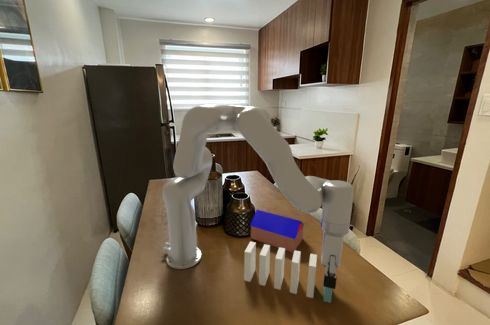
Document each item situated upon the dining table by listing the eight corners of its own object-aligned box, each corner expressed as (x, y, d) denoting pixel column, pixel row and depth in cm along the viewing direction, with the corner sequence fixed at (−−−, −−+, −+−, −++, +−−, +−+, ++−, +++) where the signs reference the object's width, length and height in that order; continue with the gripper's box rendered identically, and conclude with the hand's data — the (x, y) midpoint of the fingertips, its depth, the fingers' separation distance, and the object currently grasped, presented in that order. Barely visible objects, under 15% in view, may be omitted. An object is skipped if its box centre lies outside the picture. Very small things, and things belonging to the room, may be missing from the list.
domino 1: (244, 280, 78) (244, 251, 75) (250, 268, 83) (250, 241, 80) (250, 282, 77) (250, 252, 74) (255, 270, 82) (255, 242, 80)
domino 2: (258, 284, 76) (259, 254, 73) (263, 272, 82) (264, 244, 79) (264, 285, 75) (265, 256, 73) (269, 273, 81) (270, 245, 78)
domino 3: (274, 288, 74) (275, 258, 72) (277, 275, 80) (279, 247, 77) (280, 289, 74) (281, 259, 71) (283, 276, 79) (285, 248, 77)
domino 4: (289, 292, 73) (291, 261, 70) (292, 279, 78) (294, 250, 76) (296, 294, 72) (298, 263, 69) (298, 280, 78) (300, 251, 75)
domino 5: (306, 296, 71) (308, 265, 69) (308, 282, 77) (310, 253, 74) (313, 298, 71) (316, 267, 68) (314, 284, 76) (317, 254, 73)
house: (262, 227, 111) (262, 204, 109) (303, 239, 101) (305, 214, 99) (249, 239, 101) (250, 214, 99) (294, 254, 91) (295, 227, 89)
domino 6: (323, 301, 70) (327, 269, 67) (323, 286, 75) (326, 256, 72) (330, 303, 69) (334, 271, 66) (330, 288, 75) (333, 258, 72)
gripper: (321, 209, 75) (317, 256, 80) (319, 237, 59) (314, 295, 64) (347, 213, 73) (341, 261, 77) (352, 243, 57) (344, 302, 61)
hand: (329, 276), depth 70 cm, fingers open, 8 cm apart
